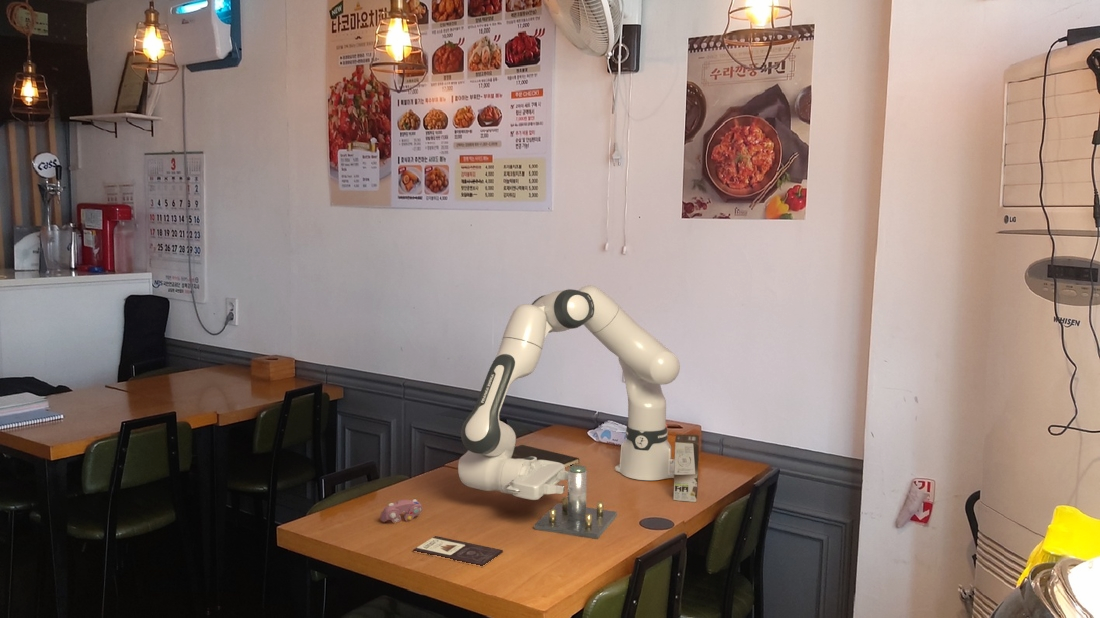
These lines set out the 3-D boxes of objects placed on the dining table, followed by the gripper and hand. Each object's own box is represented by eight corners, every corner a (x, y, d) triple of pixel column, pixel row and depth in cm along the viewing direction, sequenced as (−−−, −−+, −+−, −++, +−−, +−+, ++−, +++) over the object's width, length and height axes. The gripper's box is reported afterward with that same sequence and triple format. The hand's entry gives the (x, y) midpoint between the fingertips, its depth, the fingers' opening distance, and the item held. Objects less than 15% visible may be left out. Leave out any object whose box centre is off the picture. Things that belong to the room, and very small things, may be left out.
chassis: (557, 507, 211) (557, 492, 211) (616, 516, 205) (617, 500, 205) (534, 529, 196) (534, 512, 196) (597, 539, 190) (597, 521, 190)
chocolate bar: (482, 565, 174) (412, 549, 182) (482, 569, 174) (412, 553, 182) (502, 550, 182) (435, 535, 190) (502, 554, 182) (435, 539, 190)
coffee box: (697, 502, 216) (698, 443, 214) (672, 500, 217) (674, 441, 216) (698, 491, 225) (699, 434, 223) (674, 489, 226) (676, 433, 224)
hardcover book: (546, 476, 238) (546, 469, 238) (489, 461, 253) (489, 454, 253) (579, 464, 251) (579, 457, 250) (523, 451, 265) (523, 444, 265)
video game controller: (383, 531, 198) (387, 511, 195) (378, 518, 201) (381, 497, 198) (421, 524, 203) (426, 504, 199) (416, 511, 206) (420, 491, 203)
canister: (571, 513, 204) (571, 463, 202) (588, 516, 202) (589, 466, 201) (564, 519, 199) (565, 468, 198) (582, 522, 198) (583, 471, 196)
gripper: (501, 476, 195) (555, 483, 190) (533, 454, 214) (583, 460, 209) (501, 502, 196) (555, 510, 191) (533, 477, 215) (582, 484, 210)
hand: (570, 483), depth 200 cm, fingers open, 8 cm apart
